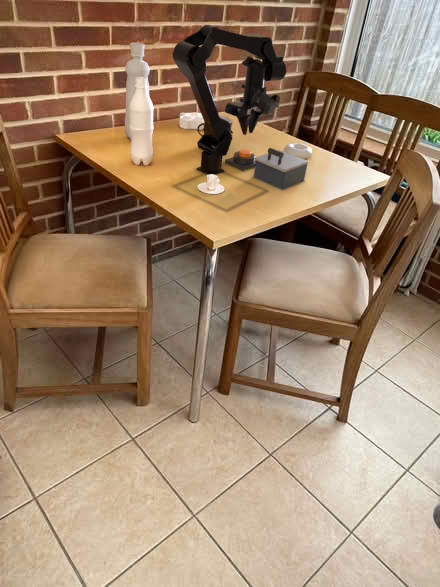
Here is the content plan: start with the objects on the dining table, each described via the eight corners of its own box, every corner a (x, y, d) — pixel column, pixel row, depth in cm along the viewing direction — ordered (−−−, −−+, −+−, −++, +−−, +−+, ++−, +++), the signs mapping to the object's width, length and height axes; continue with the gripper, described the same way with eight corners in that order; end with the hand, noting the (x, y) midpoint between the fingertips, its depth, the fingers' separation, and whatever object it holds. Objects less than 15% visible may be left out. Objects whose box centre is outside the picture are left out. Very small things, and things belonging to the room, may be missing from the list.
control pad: (242, 170, 148) (244, 162, 146) (224, 162, 152) (225, 154, 150) (261, 164, 154) (263, 155, 152) (244, 156, 158) (245, 148, 156)
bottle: (120, 135, 162) (118, 41, 144) (144, 133, 167) (144, 41, 149) (131, 144, 157) (130, 46, 139) (155, 141, 161) (156, 46, 143)
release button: (245, 159, 149) (245, 154, 148) (236, 155, 151) (236, 150, 150) (252, 156, 151) (253, 152, 150) (243, 153, 153) (244, 148, 152)
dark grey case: (282, 190, 139) (286, 171, 135) (253, 177, 144) (256, 159, 141) (303, 181, 146) (307, 163, 142) (275, 169, 152) (278, 152, 148)
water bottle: (149, 168, 141) (149, 82, 126) (127, 164, 142) (124, 78, 127) (156, 160, 147) (157, 77, 132) (135, 156, 148) (133, 73, 133)
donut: (289, 148, 169) (279, 155, 162) (290, 139, 167) (281, 146, 160) (314, 155, 166) (305, 163, 159) (316, 146, 164) (307, 153, 157)
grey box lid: (284, 172, 135) (287, 157, 132) (254, 159, 140) (256, 145, 138) (307, 163, 142) (310, 149, 140) (278, 151, 148) (280, 138, 145)
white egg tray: (212, 118, 190) (227, 129, 180) (171, 119, 183) (185, 131, 172) (213, 109, 188) (228, 121, 177) (172, 111, 181) (185, 122, 170)
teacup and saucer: (211, 180, 139) (212, 168, 137) (231, 189, 136) (232, 176, 133) (191, 188, 133) (192, 175, 131) (212, 197, 130) (213, 184, 127)
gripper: (255, 92, 127) (248, 147, 137) (293, 85, 139) (284, 136, 148) (226, 82, 133) (221, 136, 142) (265, 76, 145) (258, 126, 154)
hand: (247, 133), depth 147 cm, fingers open, 3 cm apart
